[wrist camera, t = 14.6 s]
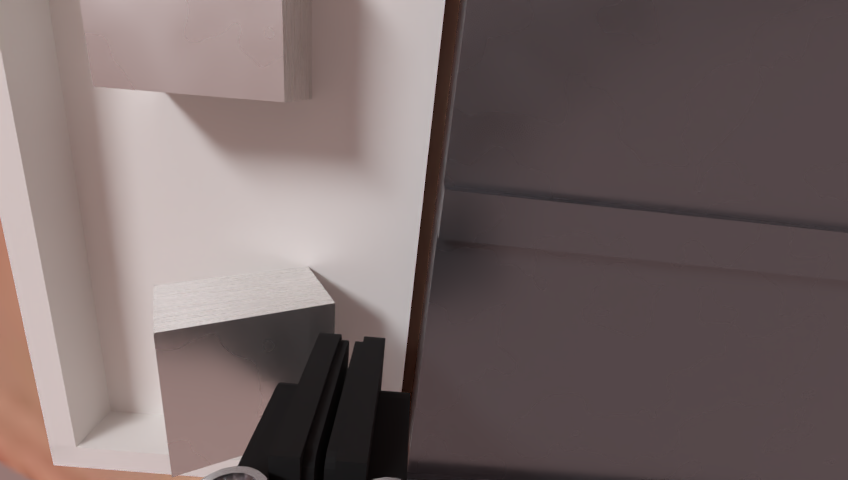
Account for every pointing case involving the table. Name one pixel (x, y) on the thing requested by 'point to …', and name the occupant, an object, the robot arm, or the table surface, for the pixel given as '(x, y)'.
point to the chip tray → (202, 205)
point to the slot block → (639, 245)
